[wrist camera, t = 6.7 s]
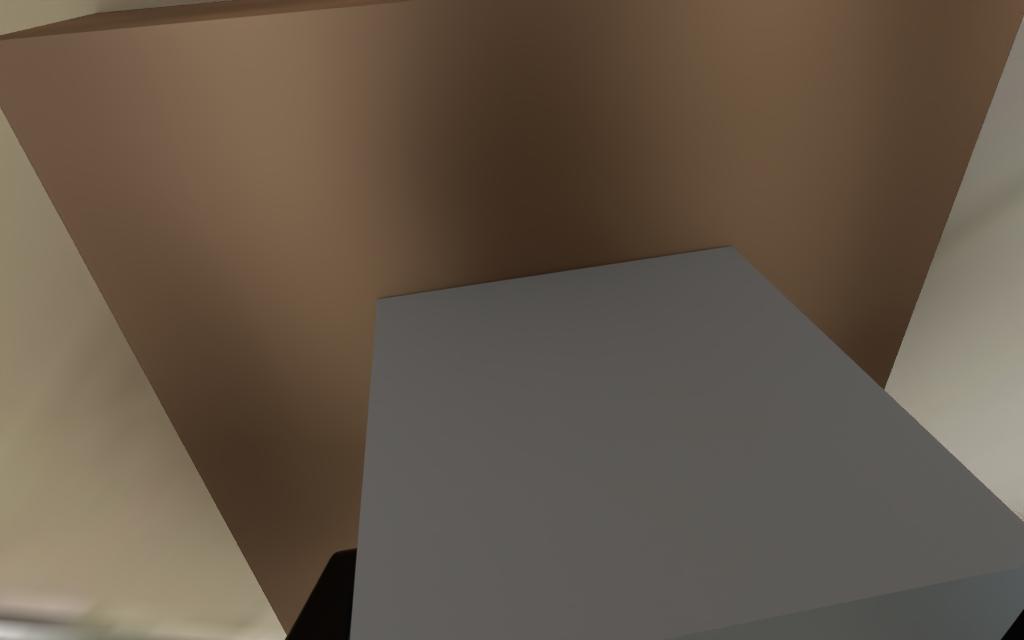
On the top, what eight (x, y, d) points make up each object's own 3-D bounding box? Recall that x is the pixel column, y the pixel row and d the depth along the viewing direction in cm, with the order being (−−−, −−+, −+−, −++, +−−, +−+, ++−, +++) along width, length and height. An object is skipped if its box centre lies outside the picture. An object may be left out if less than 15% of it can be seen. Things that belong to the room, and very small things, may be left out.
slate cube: (731, 246, 10) (1062, 558, 5) (697, 482, 13) (873, 809, 8) (377, 298, 9) (345, 704, 4) (435, 530, 13) (453, 908, 8)
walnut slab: (861, -60, 11) (1052, -61, 8) (749, 448, 19) (822, 554, 16) (110, 10, 10) (-35, 43, 7) (317, 522, 18) (297, 655, 15)
